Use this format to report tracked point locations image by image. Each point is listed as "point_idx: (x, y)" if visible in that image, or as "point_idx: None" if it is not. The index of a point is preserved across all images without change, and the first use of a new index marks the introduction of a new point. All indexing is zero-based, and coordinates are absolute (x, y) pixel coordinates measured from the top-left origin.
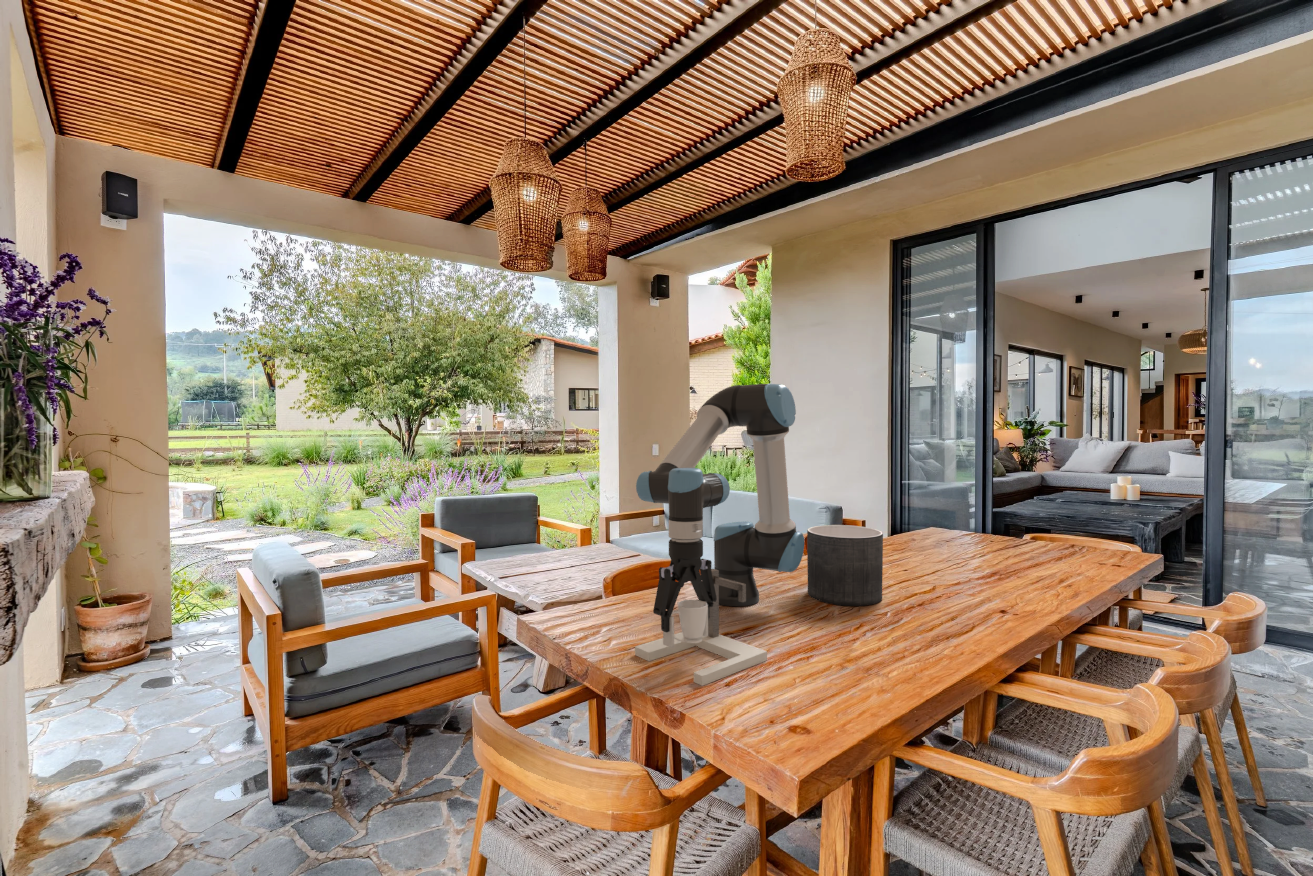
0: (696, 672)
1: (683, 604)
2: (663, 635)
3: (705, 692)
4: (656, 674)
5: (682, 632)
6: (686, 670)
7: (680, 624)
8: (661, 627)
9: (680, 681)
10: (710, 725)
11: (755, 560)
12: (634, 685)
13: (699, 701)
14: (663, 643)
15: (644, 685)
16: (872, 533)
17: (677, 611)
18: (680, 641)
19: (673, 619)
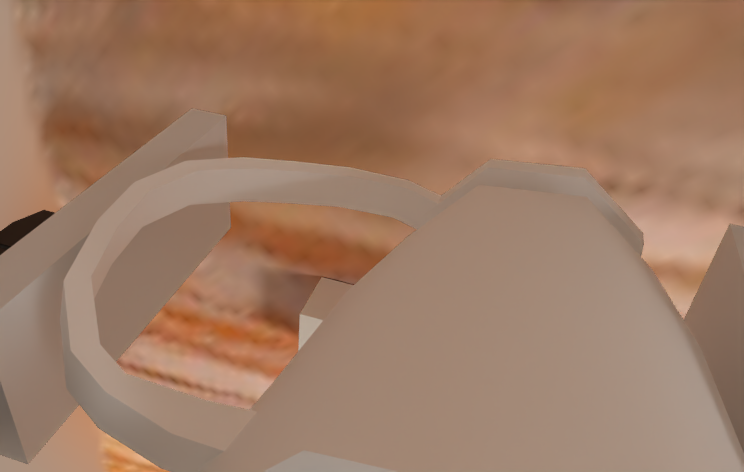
0: (310, 327)
1: (521, 453)
2: (136, 155)
3: (278, 366)
4: (225, 21)
5: (387, 256)
6: (430, 153)
7: (415, 243)
8: (1, 236)
9: (273, 212)
10: (112, 461)
11: None
12: (20, 21)
13: (195, 377)
14: (187, 115)
15: (72, 72)
16: None
17: (160, 459)
18: (371, 206)
19: (41, 432)
